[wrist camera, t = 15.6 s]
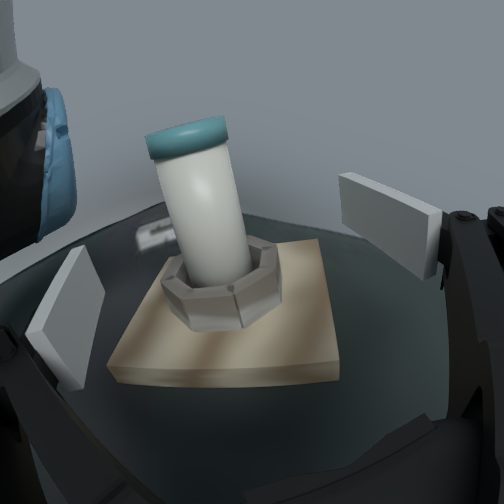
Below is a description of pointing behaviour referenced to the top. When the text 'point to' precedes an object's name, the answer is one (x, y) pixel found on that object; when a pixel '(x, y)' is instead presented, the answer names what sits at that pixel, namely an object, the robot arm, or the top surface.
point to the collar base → (234, 326)
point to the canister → (202, 200)
